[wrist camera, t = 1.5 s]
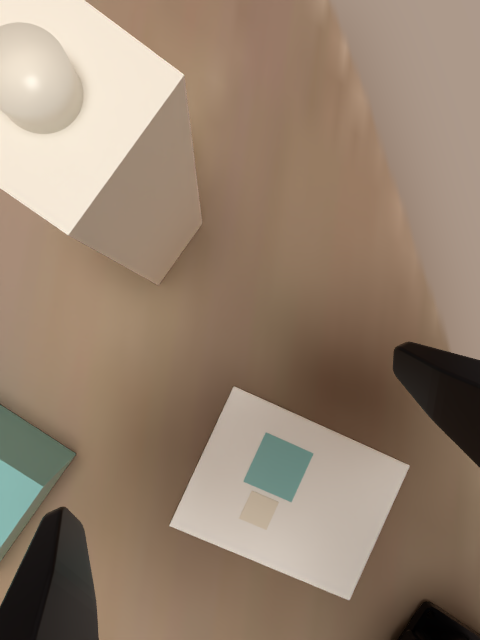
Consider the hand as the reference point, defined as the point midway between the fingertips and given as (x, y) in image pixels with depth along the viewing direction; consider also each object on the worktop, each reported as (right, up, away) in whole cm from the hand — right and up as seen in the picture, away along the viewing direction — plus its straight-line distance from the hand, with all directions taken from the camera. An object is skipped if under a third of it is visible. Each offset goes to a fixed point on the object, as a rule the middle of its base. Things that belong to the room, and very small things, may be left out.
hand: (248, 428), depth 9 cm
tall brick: (-6, +8, +12) cm, 15 cm away
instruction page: (+3, -8, +13) cm, 15 cm away
